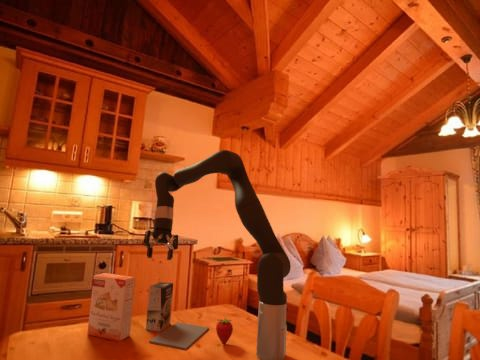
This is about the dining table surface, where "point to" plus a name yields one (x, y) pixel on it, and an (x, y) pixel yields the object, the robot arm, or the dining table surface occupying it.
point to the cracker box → (111, 306)
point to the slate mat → (180, 335)
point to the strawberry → (224, 330)
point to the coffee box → (159, 306)
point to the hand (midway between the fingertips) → (159, 259)
